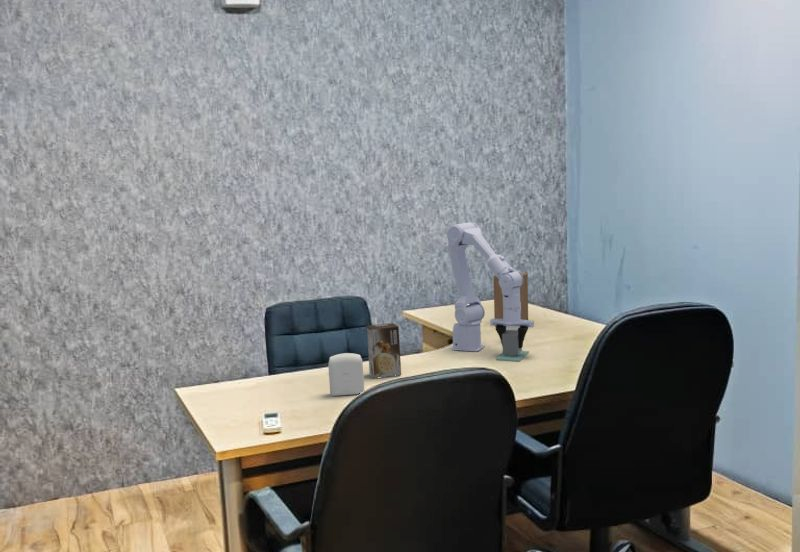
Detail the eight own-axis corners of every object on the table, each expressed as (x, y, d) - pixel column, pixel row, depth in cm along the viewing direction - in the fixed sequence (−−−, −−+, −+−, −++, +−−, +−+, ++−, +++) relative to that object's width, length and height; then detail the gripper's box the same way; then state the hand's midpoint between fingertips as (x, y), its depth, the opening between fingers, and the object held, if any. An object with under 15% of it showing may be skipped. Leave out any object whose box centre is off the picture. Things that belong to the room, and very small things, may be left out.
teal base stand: (496, 360, 313) (495, 342, 312) (505, 351, 323) (505, 334, 322) (519, 361, 310) (519, 343, 309) (528, 352, 320) (528, 335, 319)
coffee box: (396, 371, 304) (394, 322, 301) (401, 376, 298) (399, 326, 295) (368, 374, 302) (366, 325, 299) (373, 379, 296) (371, 329, 293)
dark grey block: (502, 354, 315) (502, 334, 313) (506, 349, 319) (506, 330, 318) (517, 355, 313) (517, 335, 311) (521, 350, 317) (521, 331, 316)
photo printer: (330, 397, 278) (327, 356, 276) (329, 393, 282) (327, 352, 280) (364, 394, 279) (362, 354, 277) (363, 390, 283) (362, 350, 281)
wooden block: (518, 329, 357) (517, 277, 353) (494, 326, 362) (493, 275, 358) (528, 323, 365) (528, 272, 362) (505, 321, 370) (504, 271, 367)
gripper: (487, 309, 313) (488, 348, 315) (529, 310, 307) (530, 351, 310) (493, 304, 319) (494, 343, 321) (535, 306, 314) (535, 346, 316)
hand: (512, 347), depth 316 cm, fingers closed on dark grey block, 5 cm apart
